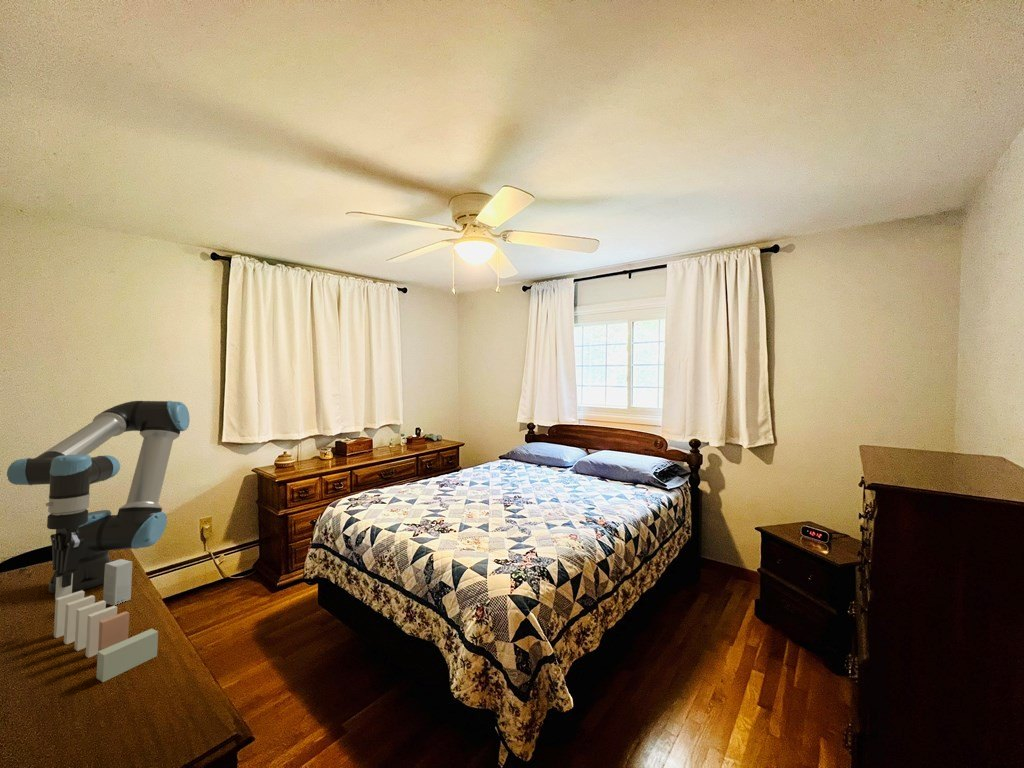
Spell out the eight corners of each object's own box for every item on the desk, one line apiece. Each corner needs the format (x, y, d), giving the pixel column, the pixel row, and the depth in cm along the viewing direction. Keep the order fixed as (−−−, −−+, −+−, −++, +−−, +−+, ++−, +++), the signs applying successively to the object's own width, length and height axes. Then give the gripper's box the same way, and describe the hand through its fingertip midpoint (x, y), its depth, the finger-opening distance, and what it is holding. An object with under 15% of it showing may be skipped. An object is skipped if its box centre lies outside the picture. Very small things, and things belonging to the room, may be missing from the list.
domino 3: (74, 649, 100) (76, 609, 100) (101, 638, 105) (103, 600, 105) (77, 651, 99) (79, 610, 100) (104, 639, 104) (106, 601, 104)
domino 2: (63, 642, 102) (65, 603, 103) (90, 632, 107) (92, 595, 107) (66, 644, 102) (68, 605, 102) (93, 633, 106) (95, 596, 107)
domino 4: (85, 656, 98) (87, 615, 98) (112, 644, 102) (114, 605, 102) (88, 657, 97) (90, 616, 97) (115, 646, 102) (117, 607, 102)
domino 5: (127, 652, 99) (129, 612, 99) (100, 665, 95) (102, 622, 95) (124, 651, 100) (126, 611, 100) (97, 663, 95) (99, 621, 95)
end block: (96, 678, 90) (97, 651, 90) (150, 652, 99) (151, 628, 100) (102, 682, 89) (104, 655, 89) (157, 656, 98) (158, 631, 98)
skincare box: (131, 599, 124) (133, 561, 124) (114, 606, 120) (116, 566, 120) (119, 596, 126) (121, 558, 126) (102, 602, 122) (104, 563, 122)
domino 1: (53, 636, 105) (55, 598, 105) (79, 626, 109) (81, 590, 110) (56, 638, 104) (58, 599, 105) (82, 628, 109) (84, 591, 109)
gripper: (38, 511, 108) (33, 598, 108) (59, 518, 103) (53, 610, 102) (77, 505, 115) (72, 586, 114) (98, 511, 110) (93, 596, 109)
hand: (63, 597), depth 108 cm, fingers closed
